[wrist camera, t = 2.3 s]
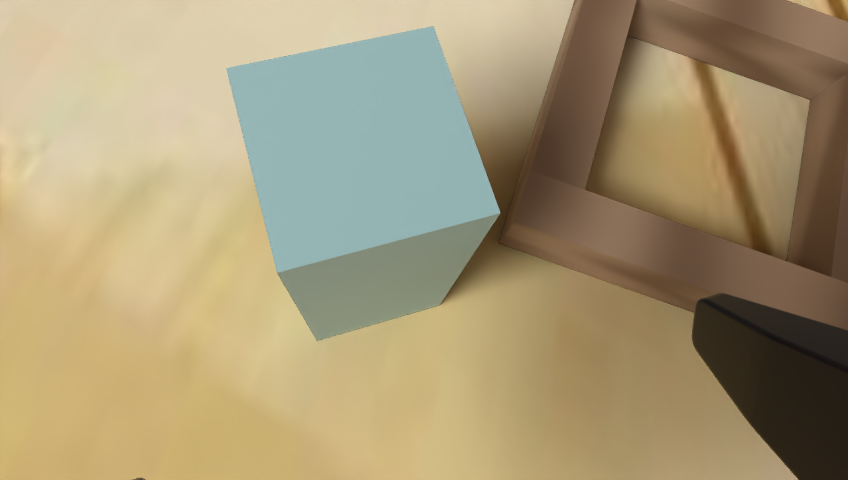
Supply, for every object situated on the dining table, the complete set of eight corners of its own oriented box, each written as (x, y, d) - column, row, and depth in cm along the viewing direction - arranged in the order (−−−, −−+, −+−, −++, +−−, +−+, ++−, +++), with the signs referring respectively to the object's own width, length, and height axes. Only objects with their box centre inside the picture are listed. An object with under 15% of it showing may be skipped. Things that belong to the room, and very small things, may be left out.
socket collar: (858, 77, 26) (908, 43, 24) (825, 359, 22) (881, 351, 20) (581, -21, 26) (602, -65, 24) (498, 243, 22) (514, 221, 20)
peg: (439, 305, 21) (500, 213, 12) (317, 340, 21) (277, 272, 11) (403, 192, 22) (433, 26, 13) (286, 222, 22) (225, 68, 12)
